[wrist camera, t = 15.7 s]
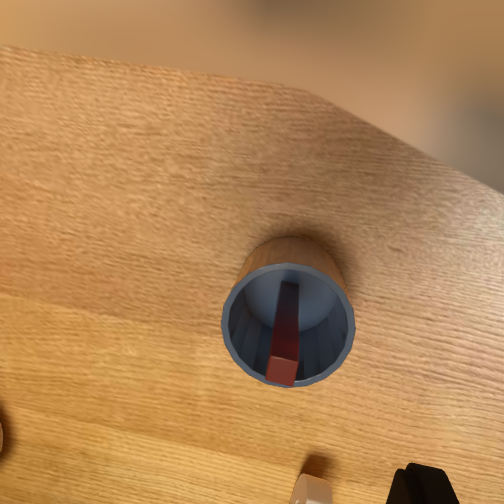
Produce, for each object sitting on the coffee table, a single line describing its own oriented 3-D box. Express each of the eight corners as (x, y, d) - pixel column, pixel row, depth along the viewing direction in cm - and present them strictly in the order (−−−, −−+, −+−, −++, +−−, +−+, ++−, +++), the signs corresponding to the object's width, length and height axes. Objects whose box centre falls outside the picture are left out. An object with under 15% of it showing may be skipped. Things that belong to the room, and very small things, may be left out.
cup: (335, 229, 36) (347, 254, 27) (347, 328, 38) (362, 381, 29) (231, 244, 37) (210, 272, 29) (248, 339, 39) (233, 392, 30)
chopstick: (299, 284, 37) (299, 361, 23) (295, 301, 37) (293, 387, 24) (281, 280, 37) (270, 355, 23) (277, 297, 37) (264, 381, 24)
